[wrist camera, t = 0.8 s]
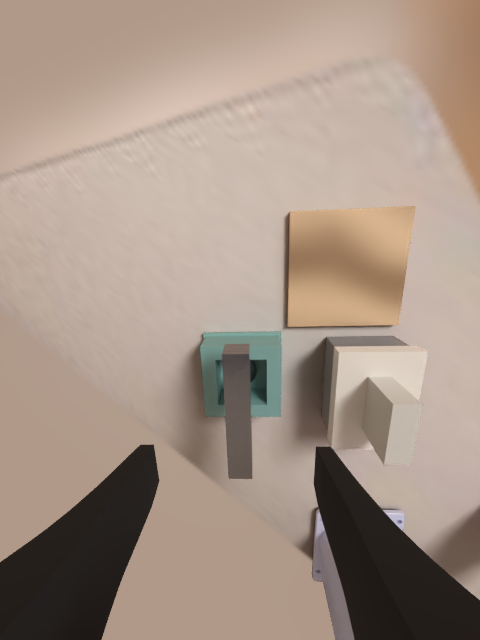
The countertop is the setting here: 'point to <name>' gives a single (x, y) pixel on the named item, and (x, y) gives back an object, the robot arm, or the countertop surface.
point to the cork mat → (347, 266)
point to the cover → (377, 400)
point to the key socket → (262, 387)
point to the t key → (238, 408)
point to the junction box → (344, 342)
